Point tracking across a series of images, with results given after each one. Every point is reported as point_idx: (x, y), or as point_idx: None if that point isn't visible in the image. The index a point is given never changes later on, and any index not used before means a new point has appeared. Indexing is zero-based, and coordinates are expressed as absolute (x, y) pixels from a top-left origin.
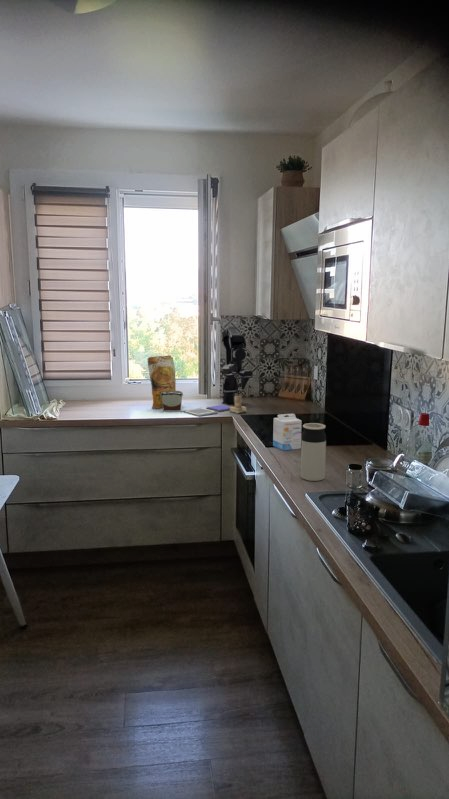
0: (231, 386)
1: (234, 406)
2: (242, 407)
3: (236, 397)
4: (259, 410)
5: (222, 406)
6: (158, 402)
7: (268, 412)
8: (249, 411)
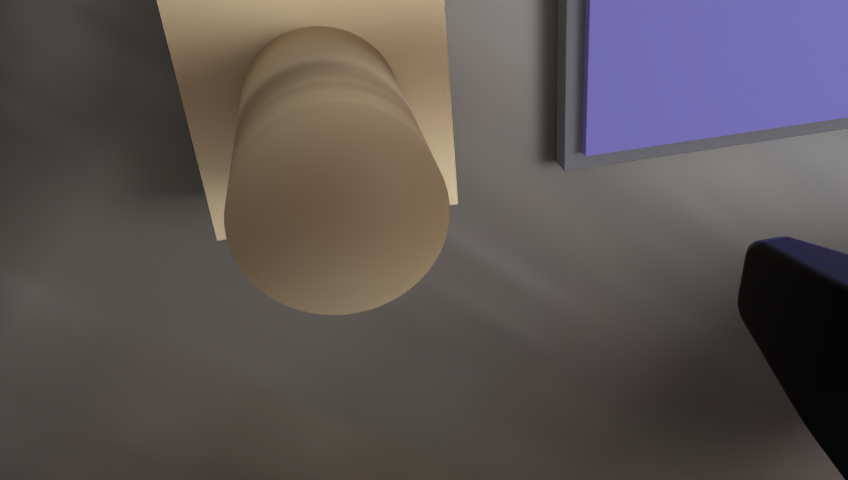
0: (785, 308)
1: (425, 77)
2: (228, 163)
3: (278, 121)
4: (240, 429)
5: (804, 29)
6: None
7: (25, 469)
8: None
